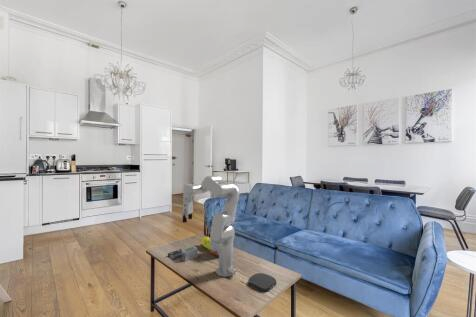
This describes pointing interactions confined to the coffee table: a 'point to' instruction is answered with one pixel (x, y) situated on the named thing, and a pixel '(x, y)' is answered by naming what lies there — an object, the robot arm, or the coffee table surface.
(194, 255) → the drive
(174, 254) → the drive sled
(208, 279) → the coffee table surface
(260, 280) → the media streaming box
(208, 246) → the yellow toy chassis
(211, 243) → the cracker box
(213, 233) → the robot arm
